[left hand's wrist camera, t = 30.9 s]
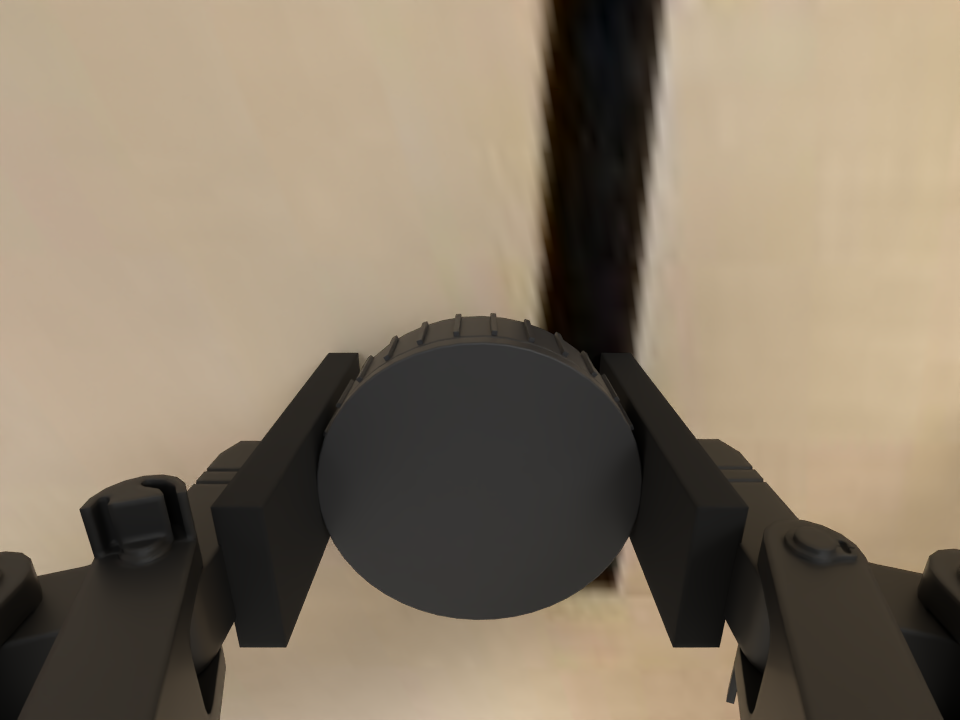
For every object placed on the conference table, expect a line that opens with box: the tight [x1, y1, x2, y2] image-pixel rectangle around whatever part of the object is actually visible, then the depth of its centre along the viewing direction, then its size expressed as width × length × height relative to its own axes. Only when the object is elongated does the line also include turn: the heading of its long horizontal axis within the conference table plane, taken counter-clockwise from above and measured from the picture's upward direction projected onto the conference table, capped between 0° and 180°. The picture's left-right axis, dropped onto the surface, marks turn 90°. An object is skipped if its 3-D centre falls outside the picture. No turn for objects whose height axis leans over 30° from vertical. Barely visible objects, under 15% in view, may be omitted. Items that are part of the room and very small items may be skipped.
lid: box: [317, 313, 643, 620], centre depth 11 cm, size 6×6×2 cm
